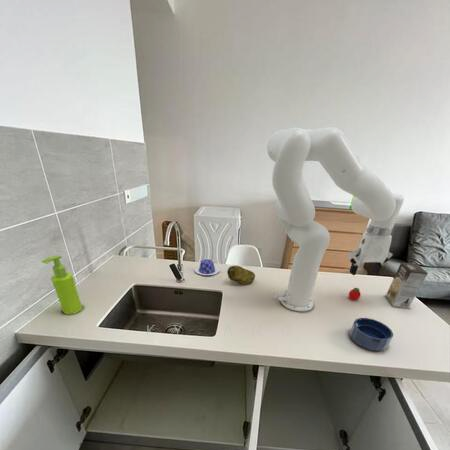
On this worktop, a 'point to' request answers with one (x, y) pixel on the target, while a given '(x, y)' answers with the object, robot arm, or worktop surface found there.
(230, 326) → the worktop surface
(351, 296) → the strawberry
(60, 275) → the soap dispenser
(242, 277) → the potato
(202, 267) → the pudding
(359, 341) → the dessert bowl
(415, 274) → the coffee box
